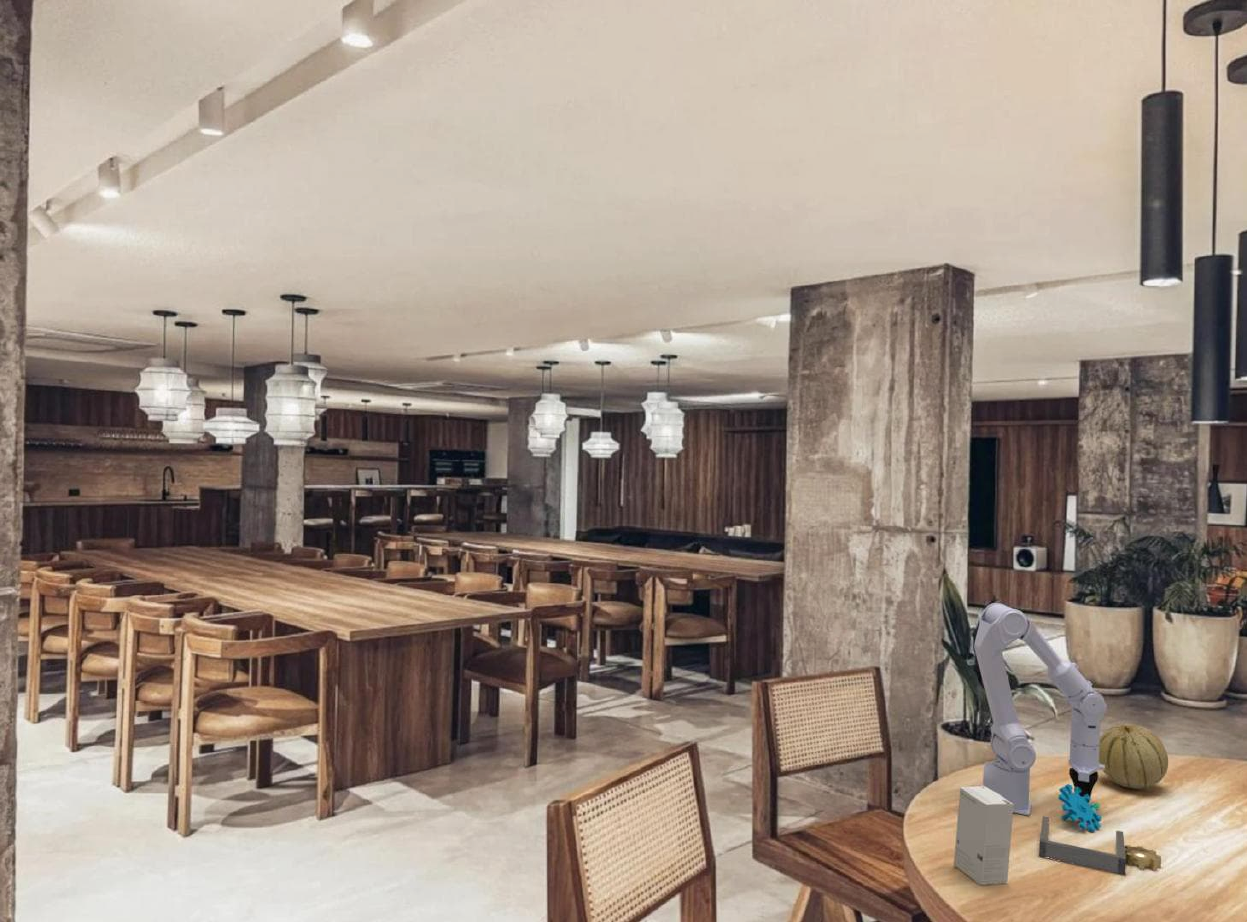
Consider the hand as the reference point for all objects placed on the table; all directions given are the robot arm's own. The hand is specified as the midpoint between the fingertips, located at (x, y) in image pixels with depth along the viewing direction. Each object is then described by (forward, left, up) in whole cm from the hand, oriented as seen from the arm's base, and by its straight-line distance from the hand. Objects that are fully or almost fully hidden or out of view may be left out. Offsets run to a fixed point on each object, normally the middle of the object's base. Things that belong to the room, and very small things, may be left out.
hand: (1082, 804), depth 195 cm
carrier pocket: (+3, -25, -1) cm, 25 cm away
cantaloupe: (+10, +23, -1) cm, 25 cm away
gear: (0, -10, -1) cm, 10 cm away
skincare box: (-16, -46, -1) cm, 49 cm away
